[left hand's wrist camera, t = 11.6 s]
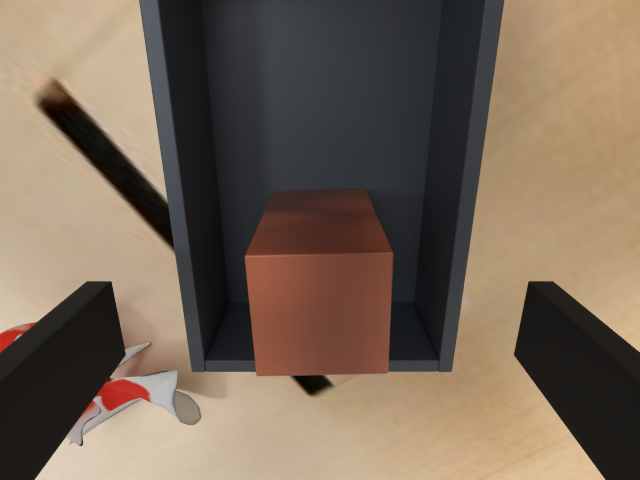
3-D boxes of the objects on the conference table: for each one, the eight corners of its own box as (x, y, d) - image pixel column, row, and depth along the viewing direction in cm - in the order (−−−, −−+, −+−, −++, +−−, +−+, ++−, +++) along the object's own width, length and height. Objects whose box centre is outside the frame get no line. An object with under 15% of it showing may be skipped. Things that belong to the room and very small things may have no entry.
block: (278, 274, 21) (256, 376, 14) (273, 190, 20) (243, 255, 12) (364, 272, 21) (388, 374, 14) (365, 188, 20) (393, 252, 12)
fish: (100, 253, 27) (19, 411, 21) (244, 345, 37) (218, 469, 31) (12, 284, 31) (-76, 421, 25) (162, 359, 42) (126, 468, 36)
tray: (221, 306, 23) (191, 372, 17) (154, -351, 14) (49, -625, 8) (421, 305, 23) (451, 372, 17) (488, -352, 14) (593, -628, 8)
